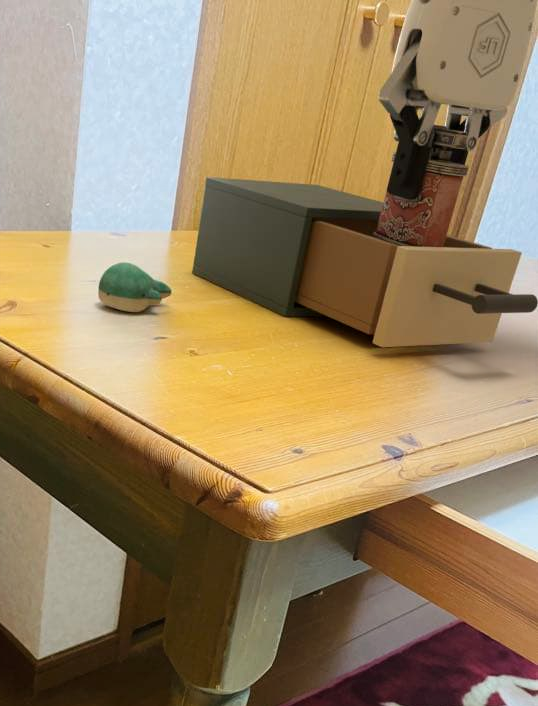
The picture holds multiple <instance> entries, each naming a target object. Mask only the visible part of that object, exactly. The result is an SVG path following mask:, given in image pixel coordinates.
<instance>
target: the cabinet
mask: <svg viewBox="0 0 538 706" xmlns="http://www.w3.org/2000/svg"><path fill="white" fill-rule="evenodd" d="M202 197H203V198H202V204H201V209H200V210H201V211H200V217H199V223H198V224H199V225H198V231H197V238H196V245H195V251H194V256H193V257H194V258H193V266H192V270H191V274H193V275H195V276H198V277H199V278H201V279H204V280H206V281H207V282H210V283H213V284H215V285H217V286H219V287H221V288H223V289H225V290H227V291H229V292H231V293H234V294H236V295H238V296H240V297H242V298H244V299H246V300H248V299H249V301H251V302H253V303H255V304H257V305H259V306H261V307H262V308H266V309H268V310H270V311H272V312H274V313H276V314H279V315H281V316H283V317H284V318H288V317H289V318H291V317H297V318H298V317H327V316H326V315H324V314H321V313H319V312H317V311H315V310H312V309H310V308H308V307H306V306H303V305H301V304H299V303H296V302H295V298H296V293H297V288H298V283H299V279H300V274H301V269H302V264H303V260H304V255H305V250H306V245H307V241H308V236H309V231H310V226H311V222H312V217H316V218H338V219H359V220H379V218H380V214H381V210H382V206H383V202H384V201H381V200H376V199H372V198H369V197H364V196H361V195H356V194H353V193H349V192H346V191H342V190H338V189H334V188H330V187H327V186H323V185H319V184H312V183H311V184H309V183H299V182H298V183H296V182H283V181H270V180H256V179H255V180H253V179H239V178H226V177H225V178H224V177H214V176H213V177H210V176H207V177H205V183H204V190H203V196H202Z"/></svg>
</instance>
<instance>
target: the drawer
mask: <svg viewBox="0 0 538 706" xmlns="http://www.w3.org/2000/svg"><path fill="white" fill-rule="evenodd" d="M378 222H379V220H359V219H338V218H316V217H312V222H311V226H310V231H309V236H308V241H307V245H306V250H305V255H304V260H303V264H302V269H301V274H300V279H299V283H298V288H297V293H296V298H295V302H296V303H299V304H301V305H303V306H306V307H308V308H310V309H312V310H315V311H317V312H319V313H321V314H324V315H326V316H325V317H328V318H330V319H333V320H335V321H337V322H340V323H342V324H343V325H346V326H349V327H351V328H353V329H355V330H358V331H360V332H362V333H365V334H367V335H373V339H372V344H374V345H376V346H378V347H379V348H398V347H416V346H418V347H419V346H439V345H457V344H459V345H460V344H480V343H493V342H494V338H495V335H496V331H497V329H498V326H499V323H500V321H501V317H502V314H524V313H532V312H534V311H535V310H536V309H537V307H538V298H537V296H536V295H534V294H530V293H529V294H523V293H522V294H518V293H517V294H513V293H510V290H511V287H512V284H513V282H514V278H515V275H516V273H517V269H518V266H519V263H520V260H521V257H522V253H523V252H522V251H519V250H516V249H511V248H493V247H491V246H487V245H484V244H480V243H477V242H473V241H469V240H466V239H463V238H458V237H456V236H452V235H448V234H447V236H446V239H445V243H444V246H443V247H414V246H398V245H396V244H393V243H390V242H386V241H383V240H380V239H377V238H374V237H373V234H374V232H376V230H377V226H378Z"/></svg>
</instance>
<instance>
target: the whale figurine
mask: <svg viewBox="0 0 538 706" xmlns="http://www.w3.org/2000/svg"><path fill="white" fill-rule="evenodd" d="M97 293H98V296H97V297H98V300H99V301H100V302H101V303H102V304H103V305H104V306H107V307H110V308H112V309H116V310H119V311H122V312H127V313H128V312H129V313H140V312H142V311H144V310H146V309H147V308H148V307H149V306H157V305H159V304H161V302H162V301H163V299H167V298H169V297H170V296H171V295H172V289H171V287H170V286H168V284H166V283H165V282H163V281H160V280H157V279H154V278H153V276H151V275H149V274H148V273H147V272H146V271H145V270H143V269H141V268H140V267H138V266H137V265H135V264H134V263H131V262H118V263H115V264H113V265H111V266H110V267H108V268H107V269H106V270H105V271H104V272H103V273H102V275H101V276H100V279H99V282H98V291H97Z"/></svg>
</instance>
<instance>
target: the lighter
mask: <svg viewBox="0 0 538 706" xmlns="http://www.w3.org/2000/svg"><path fill="white" fill-rule="evenodd" d="M466 135H467V132H462V131H456V130H450V129H447V128H446V126H445V125H440V124H434V125H433V128H432V130H431V133H430V136H429V139H428V141H427V143H426V144H425V145H424V146H427V147H431V150H430V151H431V152H430V156H429V160H428V163H427V167H426V171H425V175H424V178H423V182H422V186H421V190H420V193H419V196H418V197H417V198H416V199H408V198H404V197H400V196H396V195H392V194H389V193H388V192H387V189H386V190H385V193H384V194H385V195H384V198H383V201H382V202H383V206H382V210H381V214H380V218H379V222H378V226H377V230H376V232H374V234H373V237H374V238H377V239H380V240H383V241H386V242H390V243H393V244H396V245H398V246H414V247H443V246H444V243H445V239H446V236H447V235H448V231H449V229H450V224H451V222H452V218H453V214H454V212H455V207H456V204H457V201H458V197H459V194H460V190H461V187H462V184H463V179H464V177H467V174H468V170H469V168H470V166H469V165H466V164H465V165H462V164H458V163H453V162H450V157H451V154H452V151H451V149H452V148H459V149H465V148H466V144H467V141H468V137H469V136H466ZM395 154H396V151H395V152H393V153H392V157H391V161H390V163H393V162H394V158H395Z"/></svg>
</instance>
